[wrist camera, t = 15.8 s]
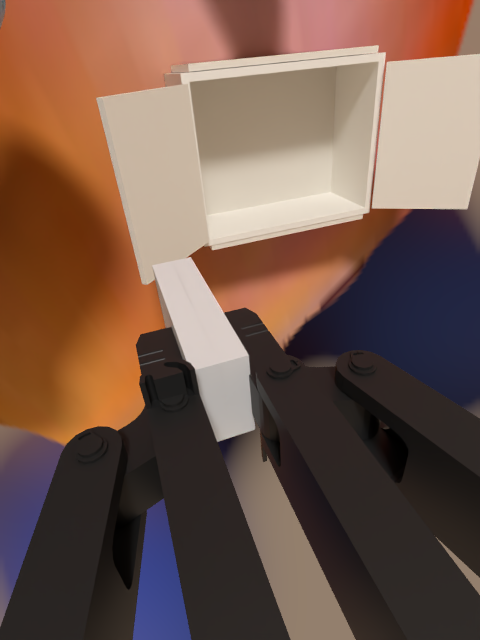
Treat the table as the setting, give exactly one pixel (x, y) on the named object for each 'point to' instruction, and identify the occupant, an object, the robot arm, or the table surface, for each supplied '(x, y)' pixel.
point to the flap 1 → (156, 173)
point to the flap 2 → (429, 134)
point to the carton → (284, 140)
